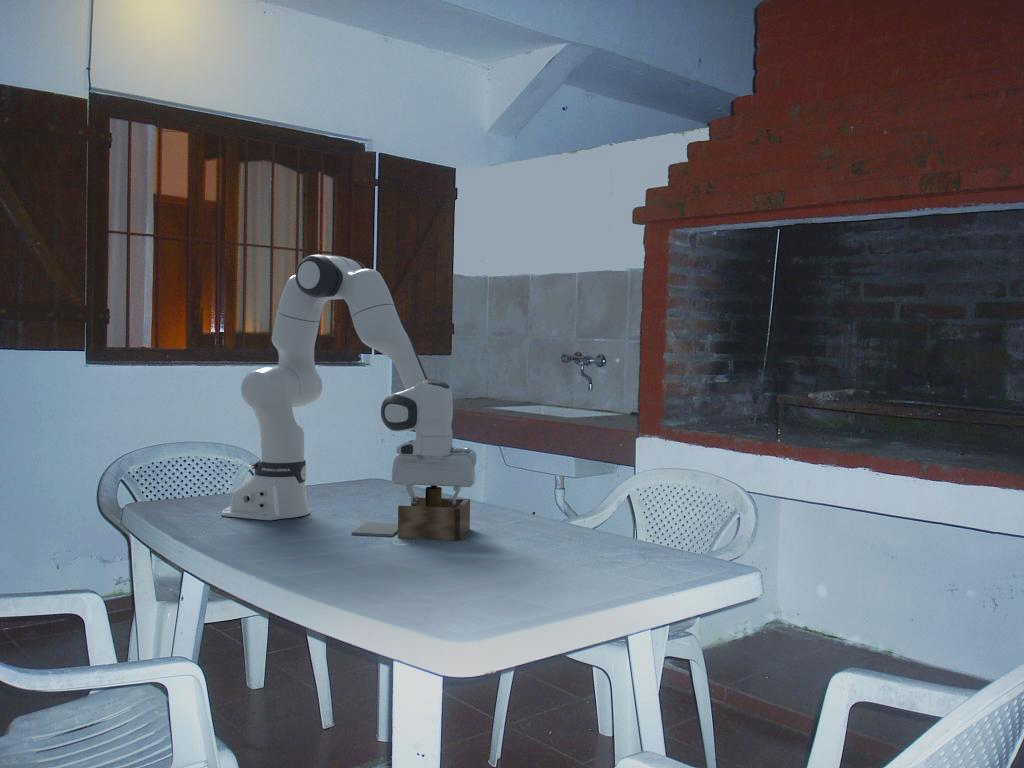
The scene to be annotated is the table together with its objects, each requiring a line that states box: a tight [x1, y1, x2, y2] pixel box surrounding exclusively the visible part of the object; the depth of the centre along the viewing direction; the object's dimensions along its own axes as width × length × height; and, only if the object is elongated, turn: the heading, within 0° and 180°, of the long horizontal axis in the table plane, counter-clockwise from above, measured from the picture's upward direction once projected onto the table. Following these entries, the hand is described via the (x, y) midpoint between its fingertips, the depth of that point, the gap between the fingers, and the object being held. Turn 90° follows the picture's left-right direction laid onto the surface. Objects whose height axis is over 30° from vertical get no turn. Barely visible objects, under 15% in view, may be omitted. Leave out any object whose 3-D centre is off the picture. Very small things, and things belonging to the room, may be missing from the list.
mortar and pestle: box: [425, 486, 443, 507], centre depth 214 cm, size 7×6×18 cm
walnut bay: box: [397, 496, 471, 541], centre depth 214 cm, size 15×13×8 cm
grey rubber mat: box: [351, 521, 398, 538], centre depth 216 cm, size 10×12×1 cm
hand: (433, 503), depth 214 cm, fingers open, 8 cm apart
